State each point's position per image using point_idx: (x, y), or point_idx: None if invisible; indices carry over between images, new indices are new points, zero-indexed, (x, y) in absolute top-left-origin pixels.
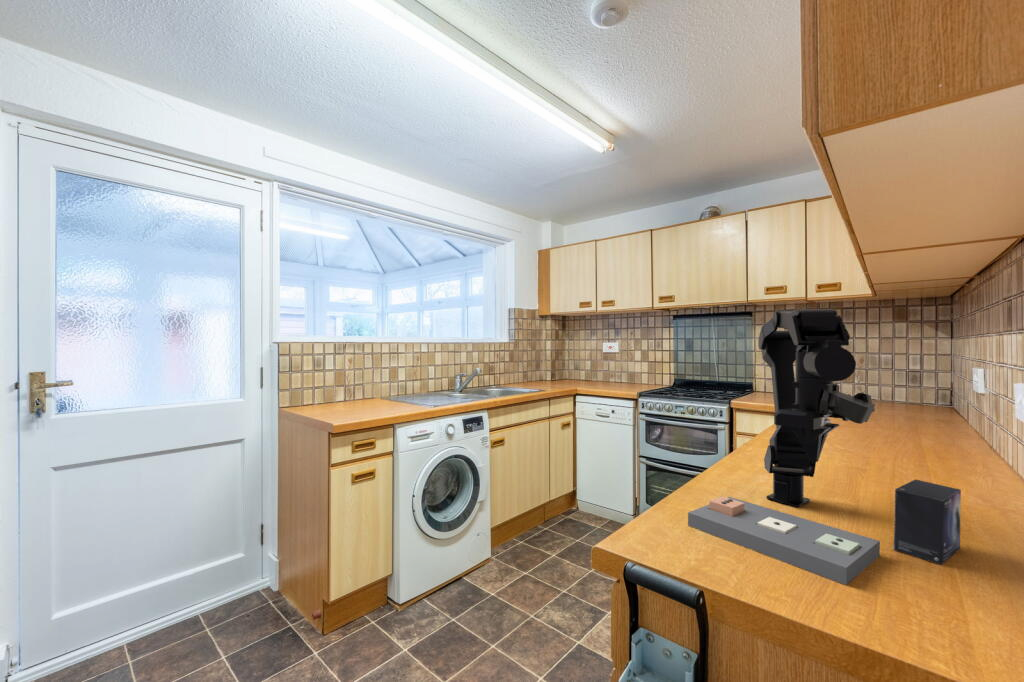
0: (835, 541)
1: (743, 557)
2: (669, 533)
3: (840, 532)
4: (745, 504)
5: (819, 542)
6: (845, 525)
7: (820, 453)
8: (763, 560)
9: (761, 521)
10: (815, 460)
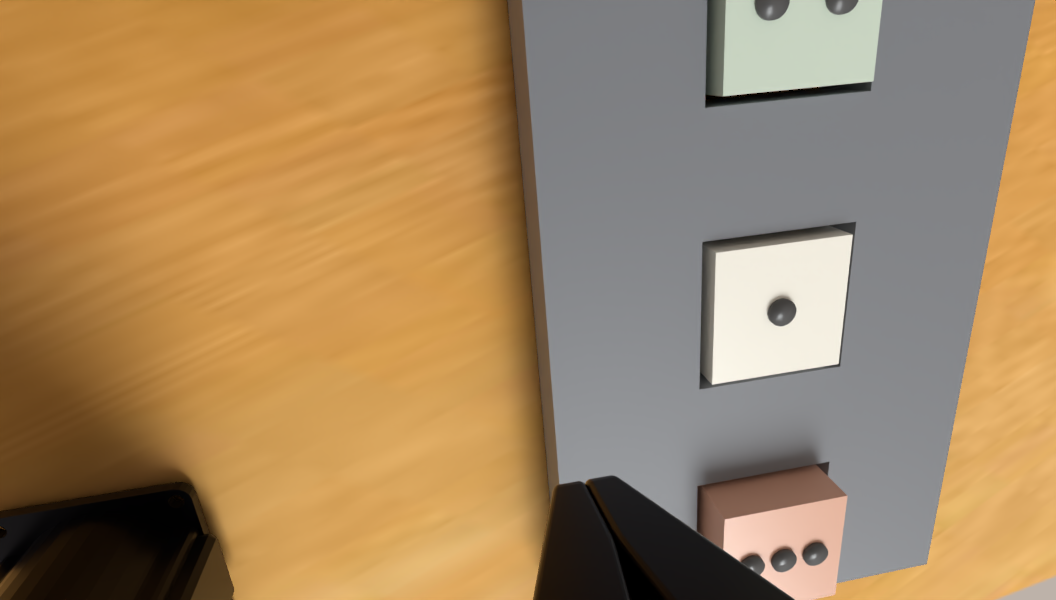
0: (807, 7)
1: (1012, 248)
2: (998, 499)
3: (584, 76)
4: None
5: (873, 58)
6: (187, 211)
7: (561, 552)
8: None
9: (808, 363)
10: (625, 492)
